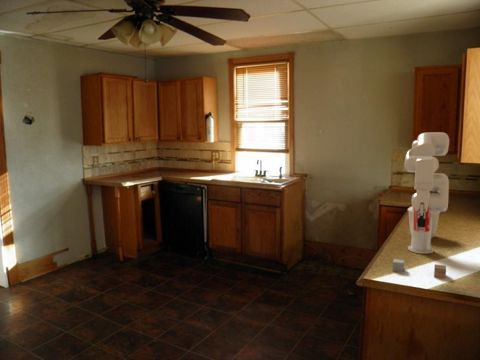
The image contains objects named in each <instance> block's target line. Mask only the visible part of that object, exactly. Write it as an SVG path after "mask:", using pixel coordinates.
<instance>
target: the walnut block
mask: <svg viewBox="0 0 480 360" xmlns="http://www.w3.org/2000/svg"><path fill="white" fill-rule="evenodd" d="M446 272H447V265H445V264H436V263H435V264H434V270H433V278H437V279H444V280H445V279H446V276H447V275H446V274H447V273H446Z"/></svg>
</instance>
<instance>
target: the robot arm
mask: <svg viewBox="0 0 480 360" xmlns="http://www.w3.org/2000/svg"><path fill="white" fill-rule="evenodd" d="M416 139H417V140H414V141H412V143H411V148H410V149H409V150H408V151H407V152H406V154H405V158H404V169H405V171H406V172H408V173H414V186H413V188H414V190H416V192H415V193H414V194H412V196H411V207H412V212H413V216H414V208H415V211H416V212H417V211H418V210H419V213H418V222H417V226H418V227H425V221H426V218H425V211H423V210H426V212H427V209H428V205H429V206H430V209H431V211H437V212H440V213H441V212H442V213H443V212H446V211H447V210H448V206H449V193H450V192H449V188H450V187H449V186H450V182H449V177H448V175H446V174H445V173H437V172H436V171H437V170H438V169H439V165H440V164H439V163H440V162H439V160H438V159H437V157H436V156H438V157H439V156H441V157H442V156H446V154H448V151H449V146H450V137H449V134H447V133H445V132H440V131H439V132H438V131H437V132H436V131H435V132H434V131H433V132H422V133H420V134H419V135H418V136H417V138H416ZM413 216H412V235H411V239H410V240H411V241H410V245H408V246H407V250H409V252H412V253H416V254H423V255H424V254H425V255H426V254H427V255H428V254H433V253H434V248H433V247H431V244H432V238H431V228H432V219H431V221H430V231H428V232H427V233H419V232H416V231H415V230H414V229H413Z"/></svg>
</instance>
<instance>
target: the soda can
mask: <svg viewBox="0 0 480 360" xmlns="http://www.w3.org/2000/svg"><path fill="white" fill-rule="evenodd" d="M423 211H425V218H426V221H425V227H418V226H417V222H418V213H419V210H418V211H417V212H416V211H415V208H414V216H413V229H414V230H415V231H416V232H419V233H427V232H428V231H430V221H431V209H430V206H429V205H428V209H427V212H426V210H423Z"/></svg>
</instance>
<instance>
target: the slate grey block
mask: <svg viewBox="0 0 480 360" xmlns="http://www.w3.org/2000/svg"><path fill="white" fill-rule="evenodd" d="M404 271H405V259H397V258H393V261H392V272H396V273H402V274H404Z"/></svg>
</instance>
